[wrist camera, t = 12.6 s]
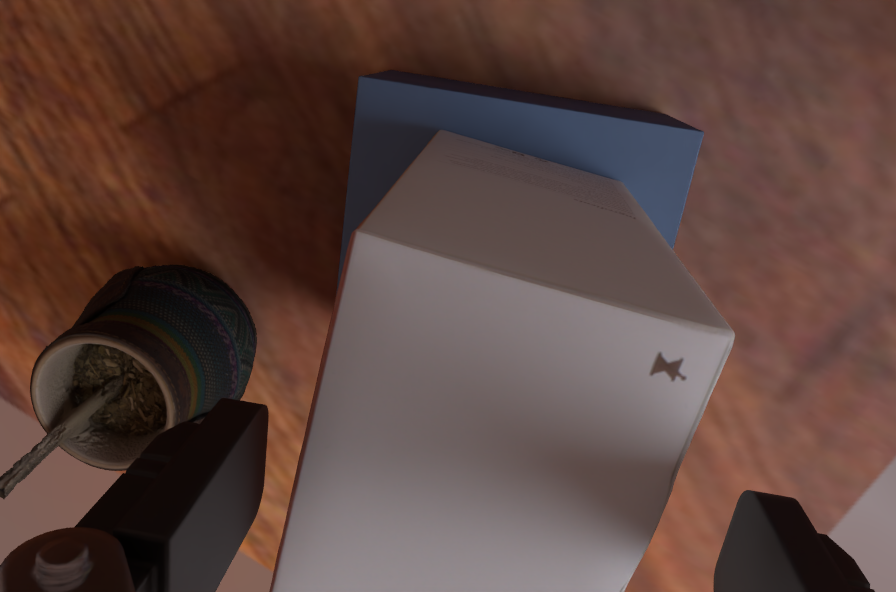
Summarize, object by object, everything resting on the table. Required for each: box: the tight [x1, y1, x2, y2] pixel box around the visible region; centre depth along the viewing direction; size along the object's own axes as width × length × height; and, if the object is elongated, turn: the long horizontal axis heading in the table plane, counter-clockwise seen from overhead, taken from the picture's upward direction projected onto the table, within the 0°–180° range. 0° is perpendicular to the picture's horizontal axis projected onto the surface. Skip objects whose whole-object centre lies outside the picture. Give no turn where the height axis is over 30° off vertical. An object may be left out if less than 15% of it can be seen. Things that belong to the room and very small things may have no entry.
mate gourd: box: [0, 265, 257, 499], centre depth 28 cm, size 7×8×10 cm
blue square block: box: [336, 70, 704, 295], centre depth 27 cm, size 11×11×6 cm
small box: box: [270, 130, 735, 592], centre depth 18 cm, size 8×6×13 cm
